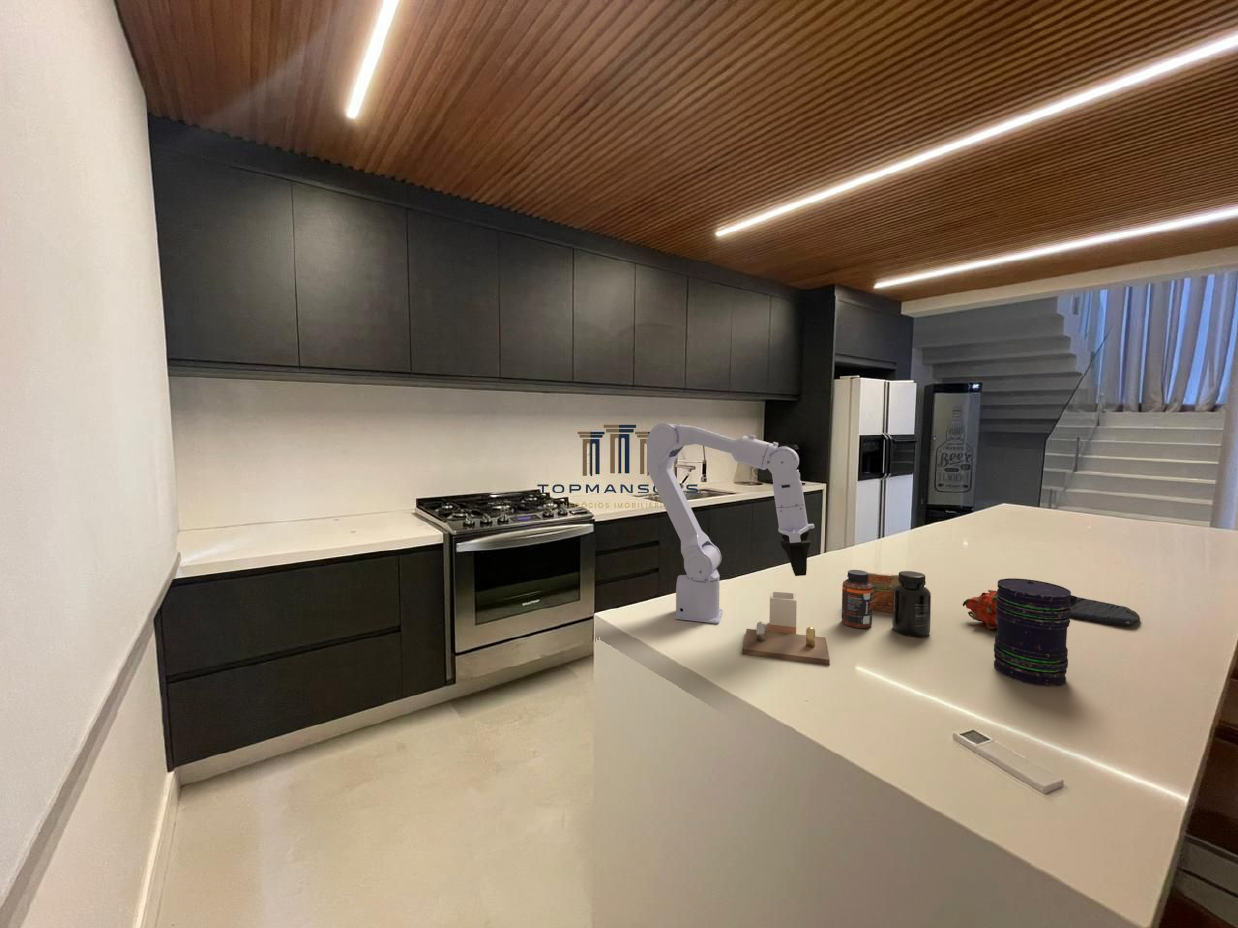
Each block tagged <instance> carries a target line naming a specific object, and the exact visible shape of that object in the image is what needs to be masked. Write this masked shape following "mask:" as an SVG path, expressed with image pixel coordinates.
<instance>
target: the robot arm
mask: <svg viewBox="0 0 1238 928" xmlns="http://www.w3.org/2000/svg"><path fill="white" fill-rule="evenodd" d="M645 444H646V447H647V453H646V455H647V456H646V470H647V472H648V475H649V476H650V479H651V481H652V483H653V485H654V487H655V490H656V492H657V494H658V496H659V497H660V500H661V502H662V504H663V506H664V508H665V510H666V513H667V515H668V516H669V519H670V521H671V523H672V524H673V528H674V529H675V532H676V533H677V535H678V538H679V541H680V553H681V555H682V557H683V568H684V571H685V573H686V574H682V575H681V574H680V575H678V576H677V579H676V585H675V588H676V589H675V617H674V618H675V620H683V621H691V622H699V623H700V622H702V623H709V624H719V623H720V621H721V618H722V615H723V612H724V609H722V608H720V573H719V571H718V569H717V568H718V567H719V566H720V564H721V562H722V554H721V551H720V549H719V547H717V545H715V544H714V543H713V542H712V541H711V539H710V537H709V536H708V535H707V534H706V533H705V532H704V531H703V530H702V528H701V526H700V524H699V522H698V520H697V518H696V516H695V514H694V511H693V509H692V507H691V505H690V504H689V502H688V499H687V498H686V495H685V493H684V490H683V488H682V487H681V485H680V483H679V480H678V478H677V477H676V474H675V472H674V469H673V465H674V464H675V463H674V462H675V461H676V458H677V456H678V454H679V453H680V452H681V451H682V450H683V449H684V447H686V446H692V445H698V446H701V447H702V446H703V447H706V448H710V449H713V450H718V451H721V452H725V453H728V454H730V455H731V456H732V457H733V459H734V461H735V462H738V463H740V464H744V465H747V466H750V467H753V468H756V469H760V470H763V471H765V470H767V469H768V471H769V472H770V473H771V477H772V482H773V483H772V490H773V496H774V502H775V509H776V516H777V522H778V524H777V525H778V528H777V531H778V533H780V536H781V539H783V540H781V541H780V546H781V547H782V549H783V550H784V552H785V554H786V555H787V558H788V560H789V563H790V566H791V569H792V572H793V574H794V576H795V577H801V576H802V577H803V576H807V570H808V569H807V568H808V564H807V563H808V553H809V549H810V546H811V543H812V541H811V540H810V539H808V537H809V535H810V533H809V530H811V529H812V530H813V529H815V524H814V523H808V516H807V510H806V502H805V497H804V489H803V483H802V481H801V472H799V471H800V470H799V469H798V468H799V465H800V457H799V454H798V453H797V452H796V451H795V450H794V449H792V448H791V447H789V446H786V445H784V446H780V447H778V446H779V442H776V441H773V442H772V443H771V442H767V441H764V440H760V439H757V437H756V435H754V434H749V435H742V436H740V437H738V438H737V439H735V438H732V437H730V436H729V437H728V436H726V435H722V434H720V433H717V432H713V431H710V430H707V429H704V428H701V427H699V426H693V425H688V424H687V425H686V424H680V423H674V422H673V423H665V422H662V423H657V424H655V425H654V426H653V427H652V429H651V430H650V432H649V434H648V436H647V438H646V441H645Z"/></svg>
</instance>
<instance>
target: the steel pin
mask: <svg viewBox="0 0 1238 928" xmlns="http://www.w3.org/2000/svg"><path fill="white" fill-rule="evenodd" d="M756 630H757V633H756V640H757V641H759V642H764V641H765V631H766V624H765V623H764V621H759V622H757V623H756Z"/></svg>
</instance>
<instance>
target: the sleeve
mask: <svg viewBox="0 0 1238 928" xmlns="http://www.w3.org/2000/svg"><path fill="white" fill-rule="evenodd" d="M797 600H798V599H797V592H792V591H783V590H782V591H781V590H770V592H769V628H768V629H769V630H768V631H772V632H781V633H790V634H797V606H798V605H797V603H798V602H797Z"/></svg>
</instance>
